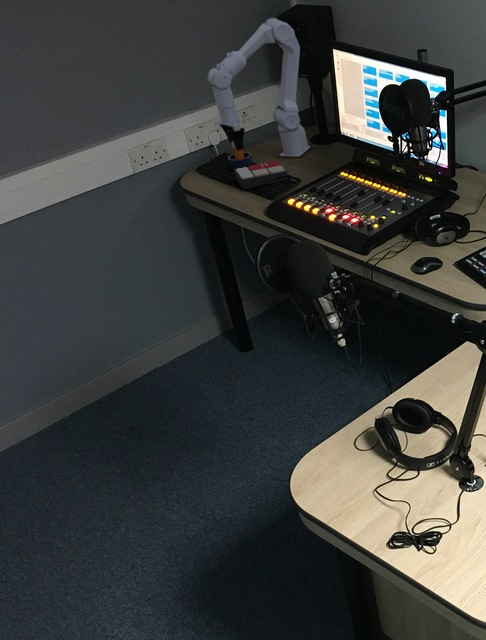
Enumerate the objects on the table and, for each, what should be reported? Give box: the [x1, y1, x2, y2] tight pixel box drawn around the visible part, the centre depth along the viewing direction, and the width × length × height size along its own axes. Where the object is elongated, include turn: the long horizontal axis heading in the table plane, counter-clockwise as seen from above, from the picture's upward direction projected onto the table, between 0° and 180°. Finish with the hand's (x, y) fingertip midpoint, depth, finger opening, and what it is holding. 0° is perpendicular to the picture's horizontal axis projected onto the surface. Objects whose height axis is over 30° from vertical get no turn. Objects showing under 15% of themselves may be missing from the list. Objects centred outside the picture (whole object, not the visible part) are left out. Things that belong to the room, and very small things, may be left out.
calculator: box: [233, 160, 289, 190], centre depth 278 cm, size 11×4×15 cm
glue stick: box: [231, 142, 245, 160], centre depth 287 cm, size 3×3×8 cm
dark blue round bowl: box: [227, 151, 255, 171], centre depth 289 cm, size 8×8×4 cm
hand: (236, 146), depth 286 cm, fingers open, 7 cm apart
